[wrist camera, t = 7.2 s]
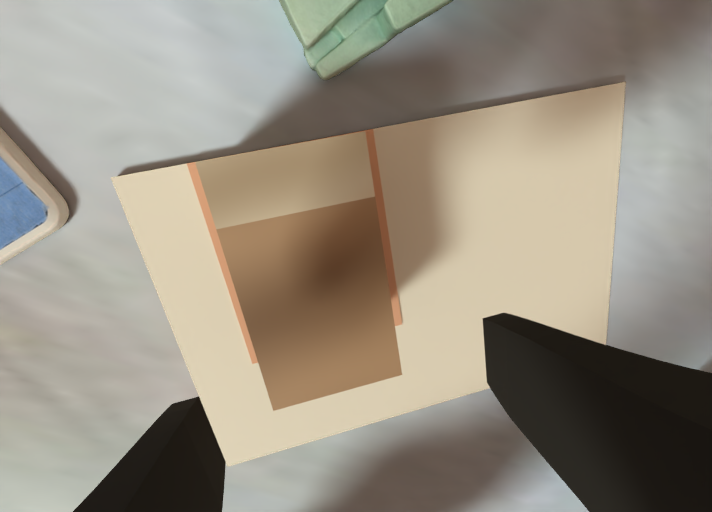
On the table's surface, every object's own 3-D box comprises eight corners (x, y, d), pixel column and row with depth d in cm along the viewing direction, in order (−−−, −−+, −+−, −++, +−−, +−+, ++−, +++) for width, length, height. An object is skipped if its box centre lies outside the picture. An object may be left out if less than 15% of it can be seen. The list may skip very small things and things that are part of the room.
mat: (228, 459, 20) (227, 468, 19) (116, 176, 14) (109, 177, 14) (598, 349, 23) (606, 354, 22) (616, 83, 18) (627, 81, 17)
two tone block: (371, 315, 18) (402, 374, 13) (276, 340, 17) (273, 411, 13) (340, 135, 15) (365, 131, 10) (223, 156, 15) (195, 161, 10)
